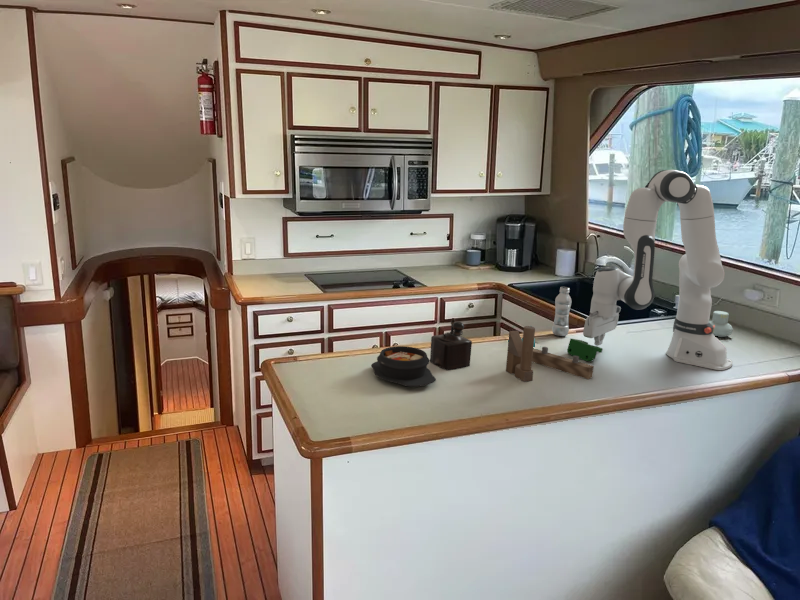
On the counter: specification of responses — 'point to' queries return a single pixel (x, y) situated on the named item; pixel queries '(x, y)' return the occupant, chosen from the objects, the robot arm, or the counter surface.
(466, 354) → the coffee grinder
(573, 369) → the bar
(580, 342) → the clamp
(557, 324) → the plastic bottle
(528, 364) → the wooden letter n
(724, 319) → the air freshener
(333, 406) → the counter surface
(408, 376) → the casserole
